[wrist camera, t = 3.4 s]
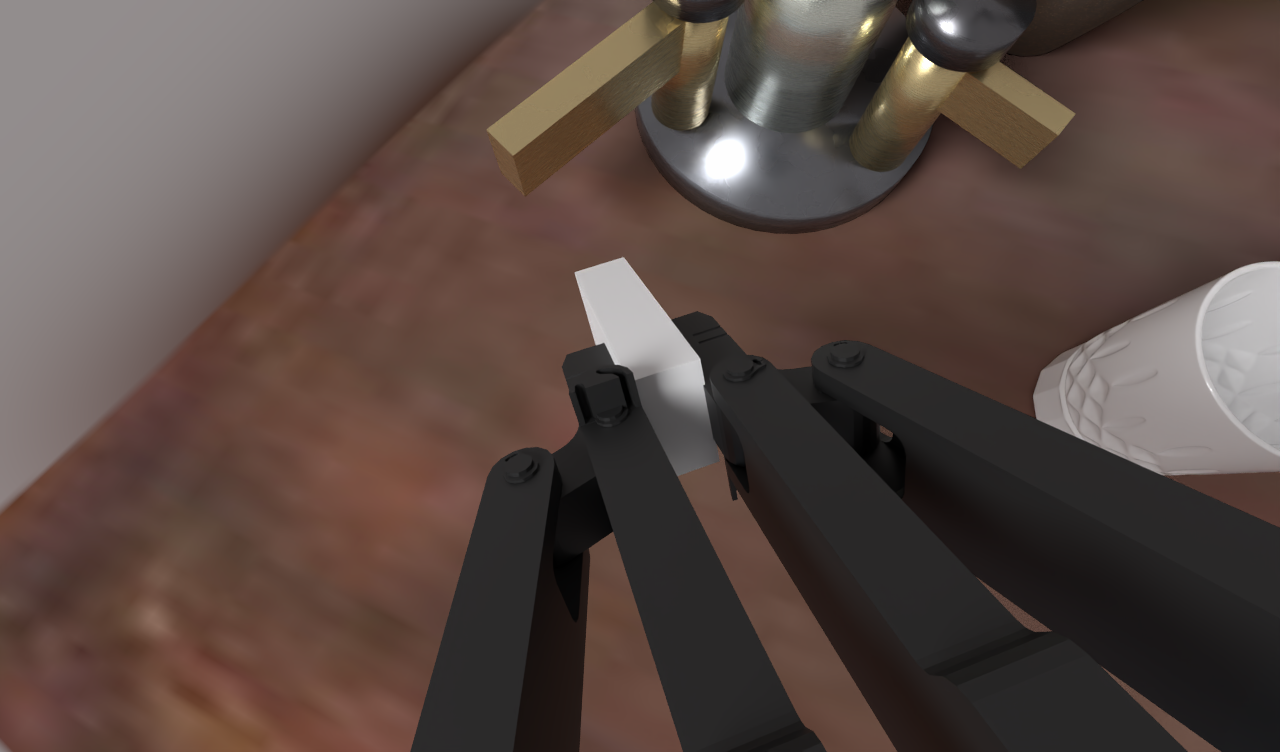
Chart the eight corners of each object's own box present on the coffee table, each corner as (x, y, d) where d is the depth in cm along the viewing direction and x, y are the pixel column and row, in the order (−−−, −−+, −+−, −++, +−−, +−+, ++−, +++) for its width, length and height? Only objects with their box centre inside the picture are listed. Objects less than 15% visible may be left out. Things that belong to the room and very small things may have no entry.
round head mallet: (680, 57, 33) (702, -117, 24) (737, 107, 33) (780, -53, 24) (499, 201, 31) (448, 68, 22) (556, 259, 30) (528, 145, 21)
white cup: (992, 421, 31) (1160, 375, 21) (1065, 311, 33) (1251, 222, 23) (1126, 519, 30) (1365, 516, 20) (1194, 400, 32) (1446, 346, 22)
